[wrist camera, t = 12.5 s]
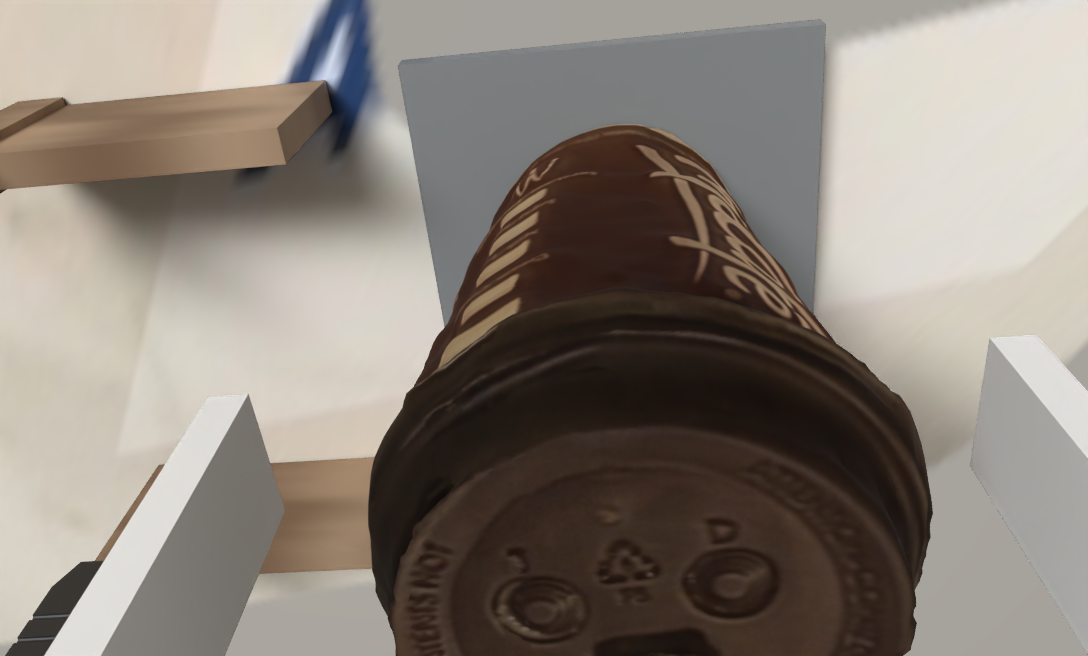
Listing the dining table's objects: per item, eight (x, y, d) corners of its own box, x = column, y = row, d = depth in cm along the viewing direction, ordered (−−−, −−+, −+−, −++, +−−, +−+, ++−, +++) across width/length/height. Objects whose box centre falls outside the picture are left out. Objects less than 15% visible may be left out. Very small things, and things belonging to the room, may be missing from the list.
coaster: (462, 400, 27) (460, 411, 26) (402, 59, 22) (398, 66, 22) (805, 378, 26) (809, 390, 26) (819, 18, 21) (825, 24, 21)
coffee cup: (672, 426, 26) (734, 886, 15) (407, 314, 25) (255, 731, 14) (847, 170, 22) (1108, 537, 11) (541, 17, 21) (483, 262, 10)
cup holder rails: (170, 494, 29) (79, 641, 24) (18, 101, 23) (-150, 184, 18) (413, 481, 29) (374, 628, 23) (323, 71, 22) (242, 148, 17)
